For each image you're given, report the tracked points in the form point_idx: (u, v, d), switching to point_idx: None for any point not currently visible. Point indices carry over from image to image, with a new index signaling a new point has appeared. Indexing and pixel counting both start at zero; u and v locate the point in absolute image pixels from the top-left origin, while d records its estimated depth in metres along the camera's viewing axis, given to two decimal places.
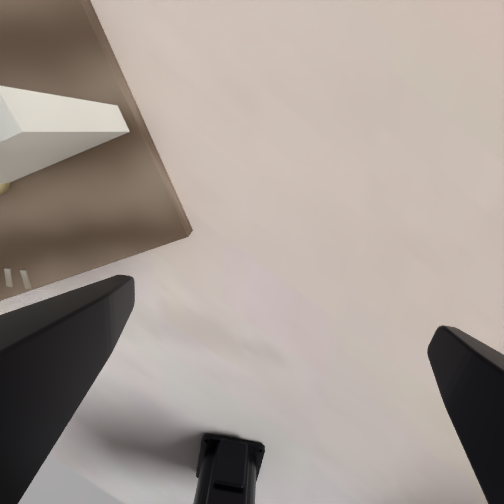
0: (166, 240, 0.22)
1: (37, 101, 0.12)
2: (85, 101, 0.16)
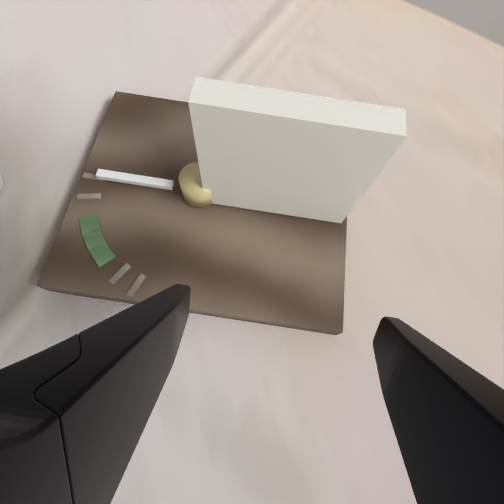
0: (318, 324, 0.20)
1: None
2: None
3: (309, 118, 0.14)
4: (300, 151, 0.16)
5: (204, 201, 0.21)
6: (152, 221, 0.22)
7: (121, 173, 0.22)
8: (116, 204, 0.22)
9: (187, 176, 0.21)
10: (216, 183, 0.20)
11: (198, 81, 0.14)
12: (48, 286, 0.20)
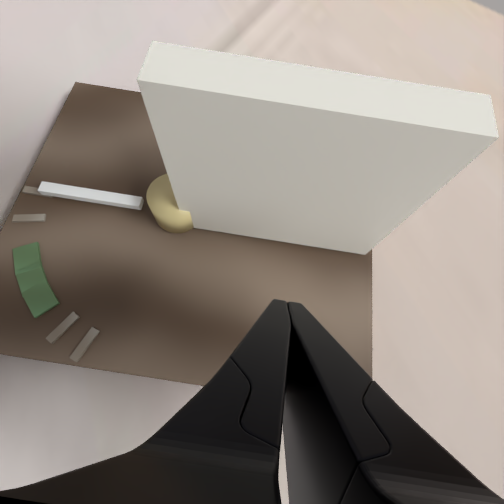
0: None
1: None
2: None
3: (337, 108, 0.08)
4: (319, 161, 0.10)
5: (182, 225, 0.16)
6: (112, 252, 0.16)
7: (72, 187, 0.17)
8: (66, 228, 0.17)
9: (158, 192, 0.15)
10: (196, 203, 0.14)
11: (156, 48, 0.09)
12: None
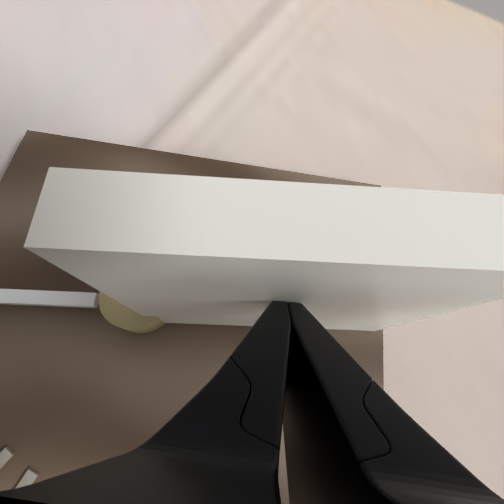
0: None
1: None
2: None
3: (348, 254, 0.05)
4: (320, 291, 0.07)
5: (150, 328, 0.13)
6: (61, 359, 0.13)
7: (6, 291, 0.13)
8: (4, 328, 0.13)
9: None
10: (162, 312, 0.11)
11: (56, 180, 0.06)
12: None
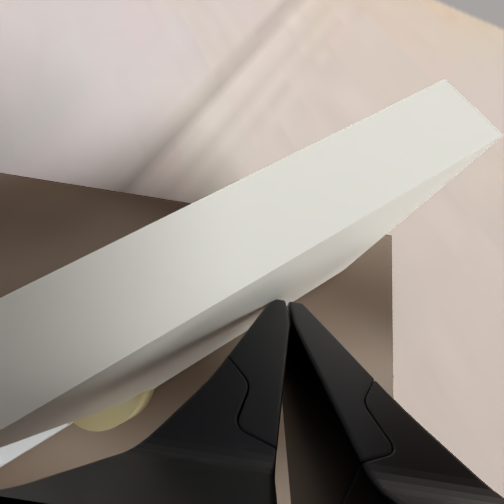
0: None
1: None
2: None
3: (303, 239, 0.05)
4: (290, 280, 0.07)
5: (142, 405, 0.11)
6: None
7: None
8: None
9: None
10: (146, 386, 0.10)
11: None
12: None
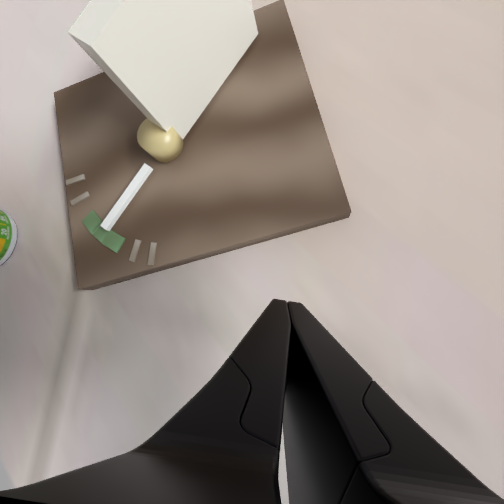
0: (324, 214, 0.20)
1: None
2: None
3: None
4: None
5: (178, 141, 0.21)
6: (139, 193, 0.23)
7: (115, 206, 0.22)
8: (104, 194, 0.23)
9: (148, 141, 0.21)
10: (169, 112, 0.20)
11: (74, 31, 0.14)
12: (87, 286, 0.22)
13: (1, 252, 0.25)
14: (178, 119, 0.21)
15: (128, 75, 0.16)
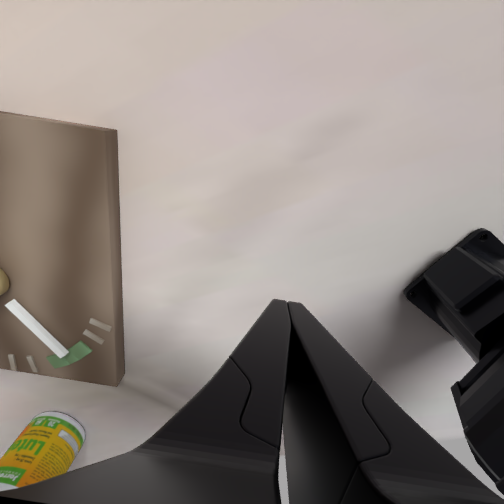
0: (101, 159, 0.18)
1: None
2: None
3: None
4: None
5: None
6: (38, 316, 0.23)
7: (44, 341, 0.23)
8: (32, 344, 0.24)
9: None
10: None
11: None
12: (115, 379, 0.25)
13: (70, 428, 0.29)
14: None
15: None
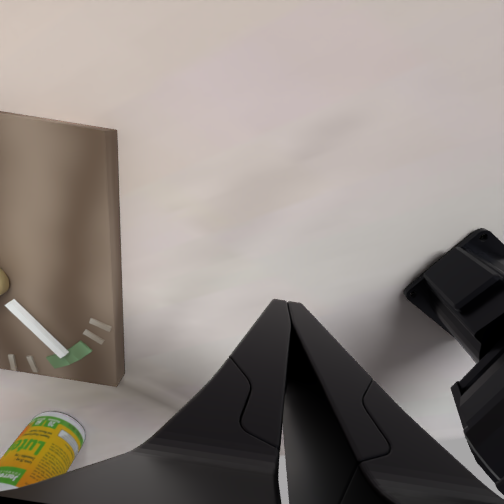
0: (101, 159, 0.18)
1: None
2: None
3: None
4: None
5: None
6: (38, 316, 0.23)
7: (44, 341, 0.23)
8: (32, 344, 0.24)
9: None
10: None
11: None
12: (115, 380, 0.25)
13: (70, 428, 0.29)
14: None
15: None
